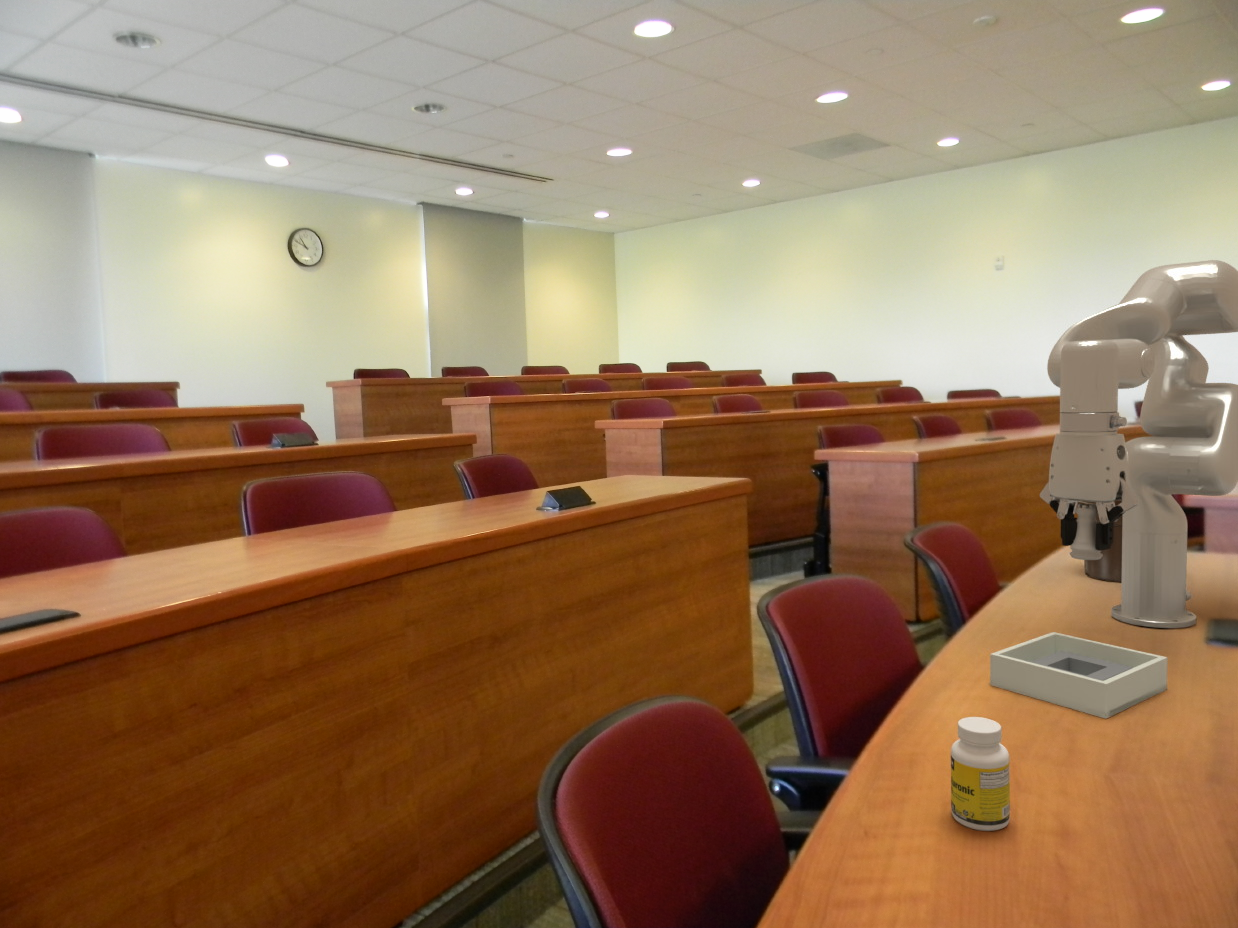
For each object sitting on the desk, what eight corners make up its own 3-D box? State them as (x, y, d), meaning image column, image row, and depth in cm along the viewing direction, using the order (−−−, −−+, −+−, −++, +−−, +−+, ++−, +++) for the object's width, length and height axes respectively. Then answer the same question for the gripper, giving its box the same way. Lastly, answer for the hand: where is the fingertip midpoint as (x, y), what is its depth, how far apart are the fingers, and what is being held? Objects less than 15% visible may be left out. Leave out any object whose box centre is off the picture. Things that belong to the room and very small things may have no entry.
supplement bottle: (941, 807, 90) (940, 715, 89) (992, 803, 90) (992, 711, 89) (966, 834, 84) (966, 736, 83) (1020, 830, 85) (1020, 732, 84)
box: (1052, 660, 132) (1053, 631, 132) (1166, 689, 119) (1167, 657, 119) (990, 684, 123) (990, 653, 123) (1105, 718, 110) (1106, 683, 110)
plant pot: (1171, 573, 183) (1173, 497, 181) (1157, 589, 171) (1158, 507, 169) (1085, 565, 193) (1086, 493, 192) (1066, 579, 181) (1066, 502, 180)
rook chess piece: (1107, 560, 128) (1108, 506, 127) (1074, 560, 129) (1075, 506, 128) (1097, 554, 132) (1098, 502, 131) (1065, 554, 133) (1066, 502, 132)
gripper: (1161, 424, 124) (1158, 551, 125) (1047, 422, 138) (1046, 537, 139) (1134, 427, 120) (1132, 558, 121) (1020, 424, 134) (1019, 542, 135)
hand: (1086, 545), depth 130 cm, fingers closed on rook chess piece, 4 cm apart
